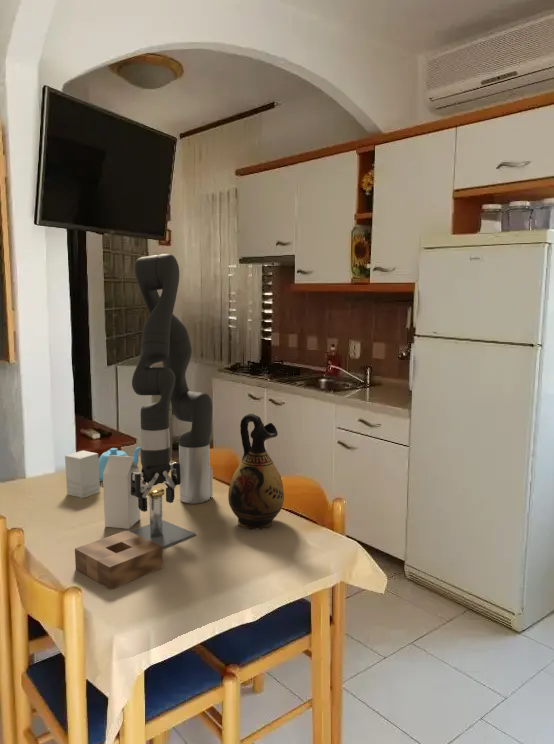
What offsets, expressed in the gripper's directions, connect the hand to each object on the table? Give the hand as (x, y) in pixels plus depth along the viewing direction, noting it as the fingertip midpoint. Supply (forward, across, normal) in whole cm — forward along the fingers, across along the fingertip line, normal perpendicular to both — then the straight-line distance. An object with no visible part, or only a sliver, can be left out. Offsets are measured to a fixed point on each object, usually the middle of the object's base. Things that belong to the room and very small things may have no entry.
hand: (156, 506), depth 154 cm
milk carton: (+8, +1, -14) cm, 16 cm away
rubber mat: (+8, 0, 0) cm, 8 cm away
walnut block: (+8, +17, +8) cm, 20 cm away
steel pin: (+8, 0, 0) cm, 8 cm away
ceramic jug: (+8, -24, +12) cm, 28 cm away
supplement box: (+8, -5, -44) cm, 45 cm away
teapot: (+8, -20, -49) cm, 54 cm away
